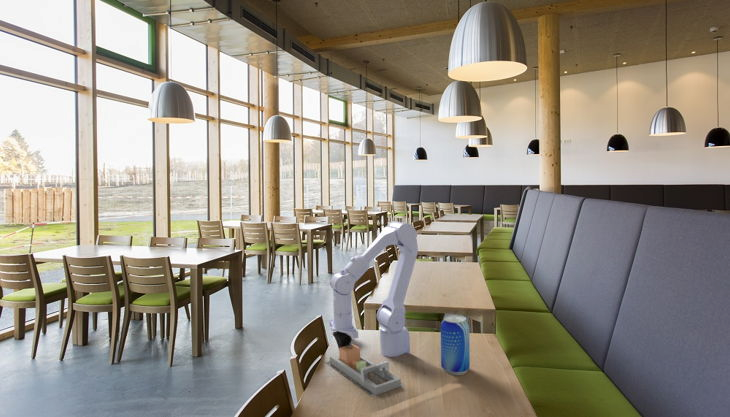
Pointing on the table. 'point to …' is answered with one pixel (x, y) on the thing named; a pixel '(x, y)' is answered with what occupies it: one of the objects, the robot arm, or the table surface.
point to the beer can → (455, 345)
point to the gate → (366, 370)
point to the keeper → (350, 355)
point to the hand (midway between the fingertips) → (344, 354)
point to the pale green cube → (360, 366)
